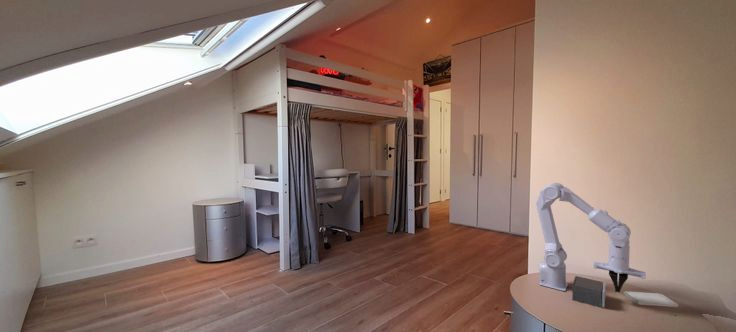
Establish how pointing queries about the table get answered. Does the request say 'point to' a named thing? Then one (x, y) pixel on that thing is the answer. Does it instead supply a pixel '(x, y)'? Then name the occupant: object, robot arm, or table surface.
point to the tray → (603, 295)
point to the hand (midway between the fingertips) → (617, 291)
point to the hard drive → (651, 299)
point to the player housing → (587, 291)
